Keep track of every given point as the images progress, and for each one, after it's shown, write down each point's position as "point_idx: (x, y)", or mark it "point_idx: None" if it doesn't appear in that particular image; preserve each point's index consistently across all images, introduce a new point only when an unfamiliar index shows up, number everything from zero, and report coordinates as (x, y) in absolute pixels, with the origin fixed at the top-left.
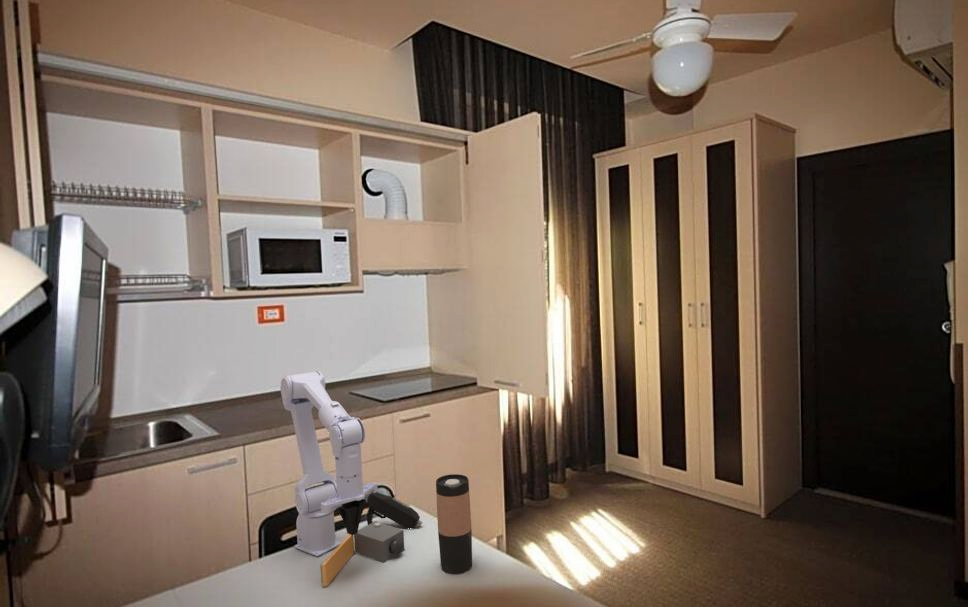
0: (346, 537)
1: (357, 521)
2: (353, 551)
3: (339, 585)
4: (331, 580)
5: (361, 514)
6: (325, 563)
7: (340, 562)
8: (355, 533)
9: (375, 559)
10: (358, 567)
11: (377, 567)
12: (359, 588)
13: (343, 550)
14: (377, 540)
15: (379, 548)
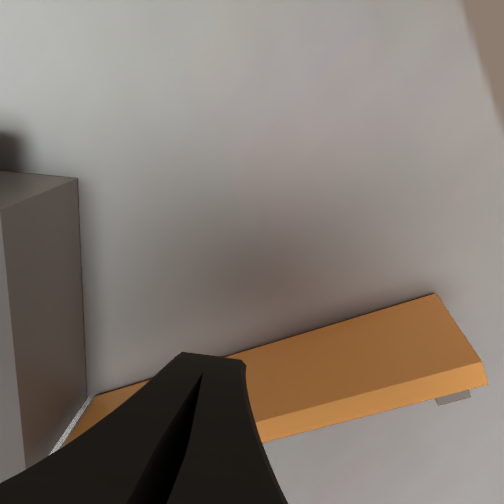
0: None
1: (154, 427)
2: (99, 401)
3: (387, 241)
4: (373, 312)
5: (28, 473)
6: (462, 373)
7: (253, 368)
8: (208, 358)
9: (79, 247)
10: (190, 277)
11: (134, 175)
12: (368, 105)
13: None
14: (7, 263)
15: (36, 230)
